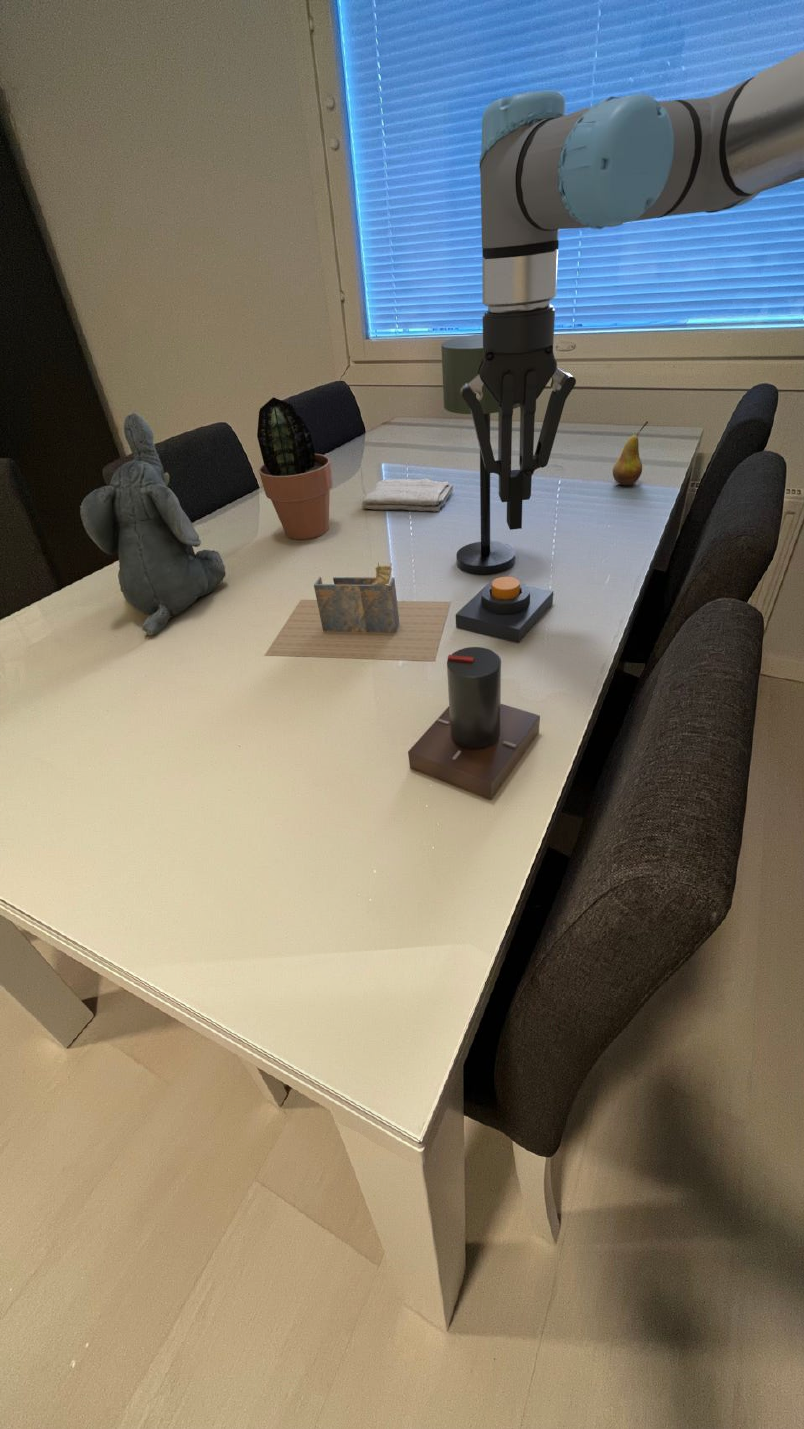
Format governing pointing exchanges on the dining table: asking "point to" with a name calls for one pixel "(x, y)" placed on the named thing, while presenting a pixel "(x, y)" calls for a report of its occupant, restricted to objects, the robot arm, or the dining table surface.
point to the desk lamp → (461, 369)
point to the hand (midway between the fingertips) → (514, 525)
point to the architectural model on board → (362, 622)
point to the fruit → (629, 462)
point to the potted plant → (293, 471)
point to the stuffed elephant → (150, 534)
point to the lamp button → (505, 588)
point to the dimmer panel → (475, 753)
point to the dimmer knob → (474, 696)
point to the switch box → (504, 612)
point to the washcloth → (408, 495)
